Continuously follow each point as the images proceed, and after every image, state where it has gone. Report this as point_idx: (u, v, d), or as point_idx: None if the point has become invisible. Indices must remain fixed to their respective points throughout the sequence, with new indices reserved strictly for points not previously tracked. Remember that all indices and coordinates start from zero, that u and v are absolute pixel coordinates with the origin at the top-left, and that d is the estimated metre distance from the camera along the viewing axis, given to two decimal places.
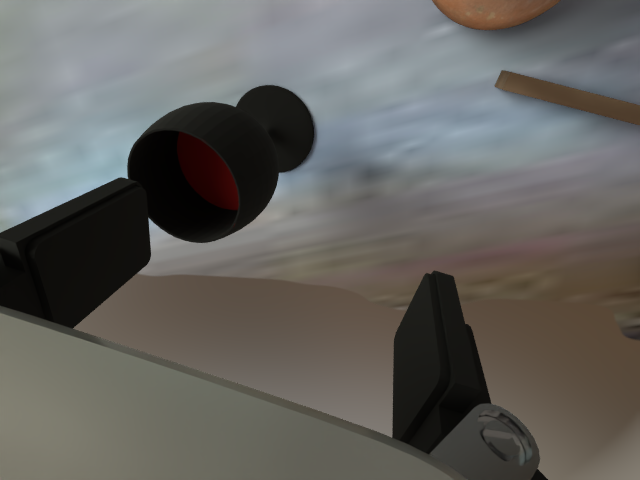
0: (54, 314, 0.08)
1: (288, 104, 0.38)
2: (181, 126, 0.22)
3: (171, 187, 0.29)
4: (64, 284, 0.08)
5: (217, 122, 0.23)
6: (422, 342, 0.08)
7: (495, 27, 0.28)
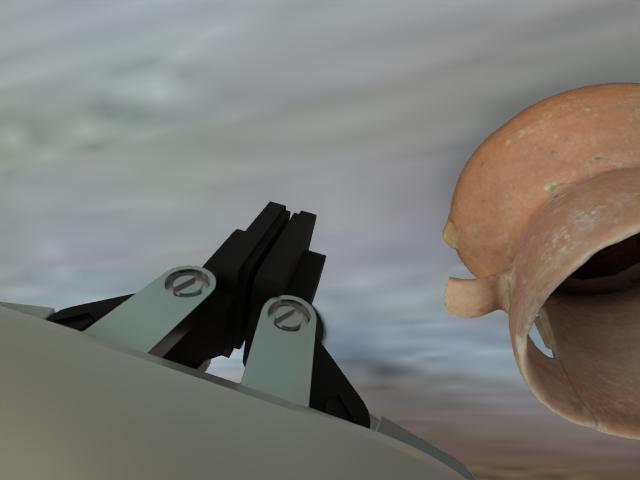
0: (241, 331, 0.09)
1: None
2: None
3: None
4: (249, 304, 0.09)
5: None
6: None
7: None
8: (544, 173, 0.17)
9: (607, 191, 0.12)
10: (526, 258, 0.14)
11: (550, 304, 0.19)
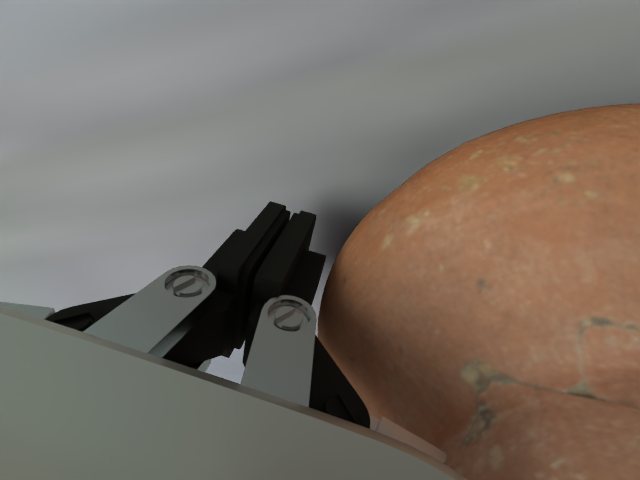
0: (241, 331, 0.09)
1: None
2: None
3: None
4: (249, 304, 0.09)
5: None
6: None
7: None
8: (463, 336, 0.07)
9: None
10: None
11: None
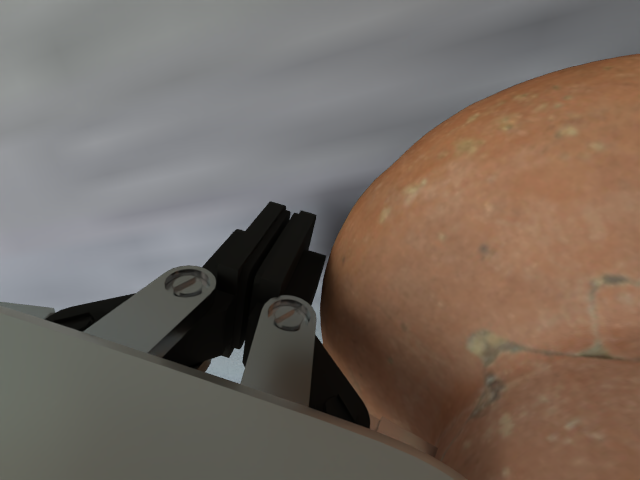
0: (241, 331, 0.09)
1: None
2: None
3: None
4: (249, 304, 0.09)
5: None
6: None
7: None
8: (467, 306, 0.06)
9: None
10: None
11: None
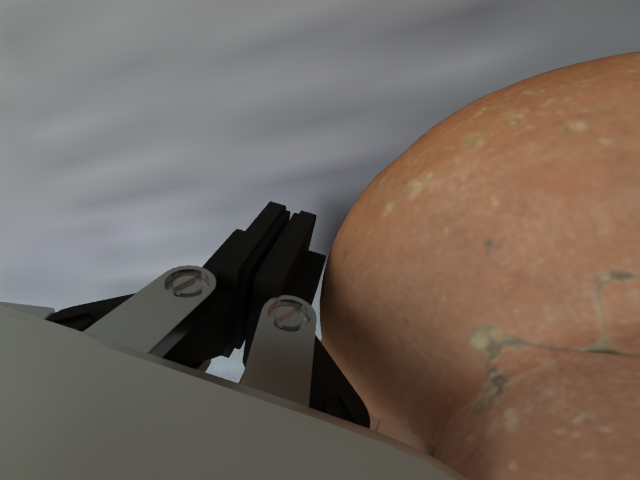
0: (241, 331, 0.09)
1: None
2: None
3: None
4: (249, 304, 0.09)
5: None
6: None
7: None
8: (471, 300, 0.06)
9: None
10: None
11: None
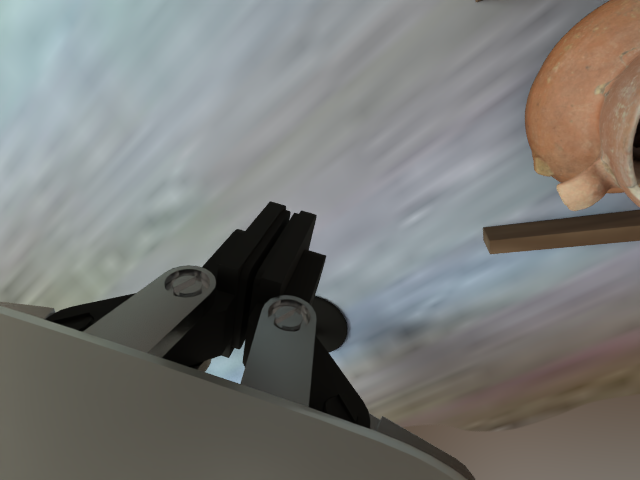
0: (241, 331, 0.09)
1: (314, 306, 0.44)
2: None
3: None
4: (249, 304, 0.09)
5: None
6: None
7: None
8: (589, 84, 0.22)
9: (636, 67, 0.18)
10: (606, 138, 0.19)
11: None
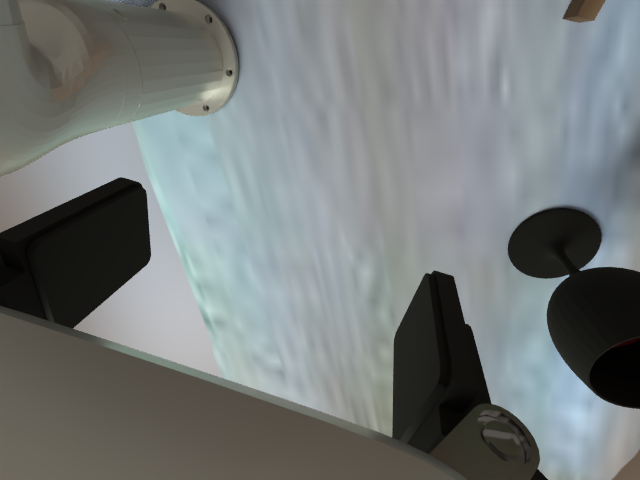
0: (54, 314, 0.08)
1: (532, 228, 0.41)
2: (591, 355, 0.26)
3: (620, 366, 0.32)
4: (64, 284, 0.08)
5: (589, 324, 0.27)
6: (422, 342, 0.08)
7: None
8: None
9: None
10: None
11: None
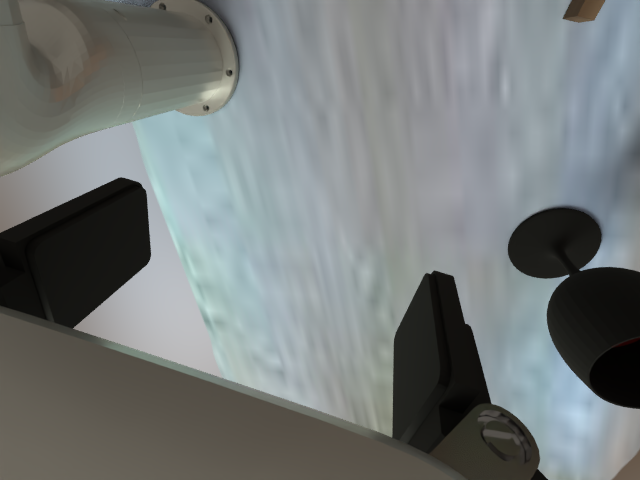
0: (54, 314, 0.08)
1: (532, 228, 0.41)
2: (591, 355, 0.26)
3: (620, 366, 0.32)
4: (64, 284, 0.08)
5: (589, 324, 0.27)
6: (422, 342, 0.08)
7: None
8: None
9: None
10: None
11: None
